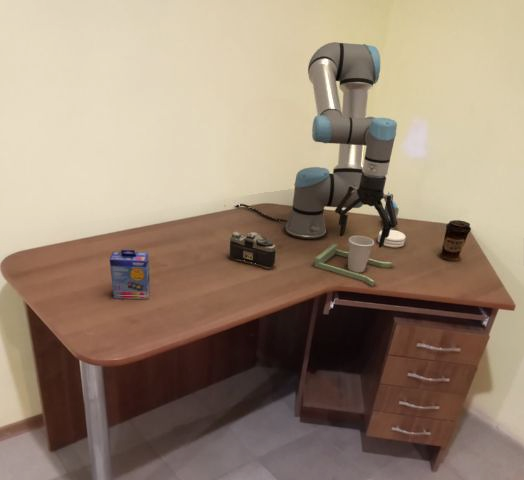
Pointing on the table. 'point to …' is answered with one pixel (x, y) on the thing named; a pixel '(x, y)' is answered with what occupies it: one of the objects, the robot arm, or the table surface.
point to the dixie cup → (359, 252)
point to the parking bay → (328, 254)
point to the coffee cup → (454, 239)
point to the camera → (252, 249)
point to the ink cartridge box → (130, 274)
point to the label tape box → (394, 209)
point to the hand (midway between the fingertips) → (361, 240)
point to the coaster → (393, 239)
